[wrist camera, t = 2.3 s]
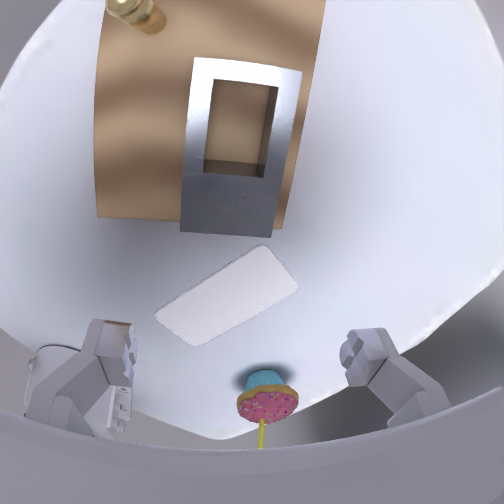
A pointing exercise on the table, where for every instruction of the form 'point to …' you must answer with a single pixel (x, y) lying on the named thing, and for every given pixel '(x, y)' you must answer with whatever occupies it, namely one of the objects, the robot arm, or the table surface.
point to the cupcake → (266, 400)
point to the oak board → (178, 92)
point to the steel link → (229, 172)
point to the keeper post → (138, 14)
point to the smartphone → (228, 297)
